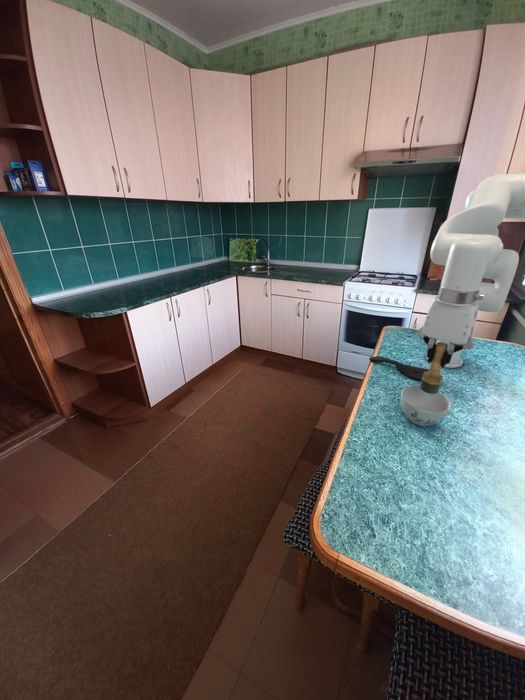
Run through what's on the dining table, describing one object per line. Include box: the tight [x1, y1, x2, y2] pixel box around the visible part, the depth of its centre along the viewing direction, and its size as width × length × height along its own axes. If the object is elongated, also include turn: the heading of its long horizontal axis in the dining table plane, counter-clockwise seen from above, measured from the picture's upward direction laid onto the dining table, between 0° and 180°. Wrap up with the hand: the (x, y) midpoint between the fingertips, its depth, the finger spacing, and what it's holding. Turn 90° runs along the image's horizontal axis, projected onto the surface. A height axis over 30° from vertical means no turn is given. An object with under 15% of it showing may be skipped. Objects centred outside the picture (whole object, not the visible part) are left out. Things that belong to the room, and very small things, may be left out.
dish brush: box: [419, 342, 448, 394], centre depth 77 cm, size 5×5×14 cm
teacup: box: [400, 385, 452, 427], centre depth 84 cm, size 15×12×8 cm
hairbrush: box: [368, 356, 429, 381], centre depth 109 cm, size 8×4×25 cm
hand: (437, 362), depth 76 cm, fingers closed on dish brush, 2 cm apart
